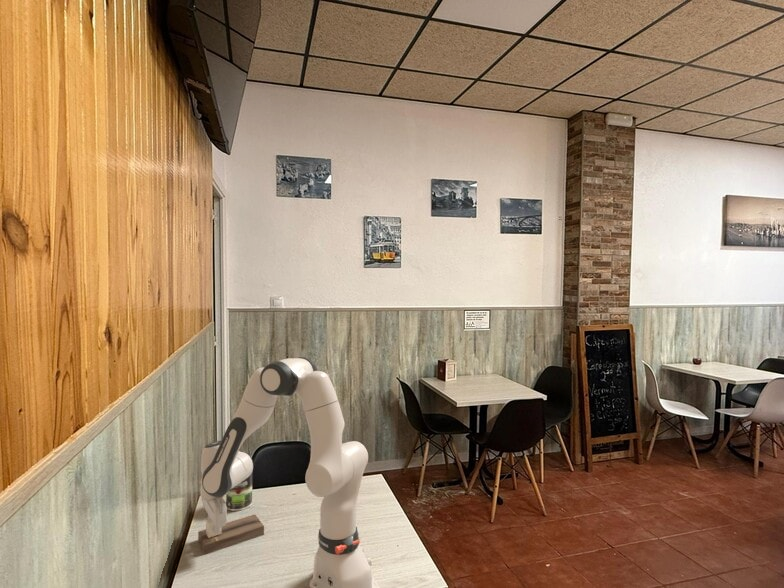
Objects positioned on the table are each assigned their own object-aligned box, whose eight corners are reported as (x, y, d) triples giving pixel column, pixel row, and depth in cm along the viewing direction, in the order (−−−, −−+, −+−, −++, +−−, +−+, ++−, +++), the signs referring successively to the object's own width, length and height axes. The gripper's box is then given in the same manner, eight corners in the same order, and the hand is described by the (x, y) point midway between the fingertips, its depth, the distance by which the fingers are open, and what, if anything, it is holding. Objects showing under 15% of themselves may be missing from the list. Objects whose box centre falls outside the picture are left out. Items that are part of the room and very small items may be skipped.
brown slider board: (263, 534, 149) (264, 525, 149) (204, 554, 137) (204, 544, 137) (255, 522, 157) (255, 513, 157) (198, 540, 145) (198, 531, 146)
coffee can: (251, 509, 167) (252, 474, 167) (224, 512, 164) (224, 477, 164) (253, 497, 177) (253, 464, 177) (227, 500, 174) (227, 466, 174)
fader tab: (221, 533, 144) (221, 518, 144) (208, 538, 141) (208, 522, 141) (219, 529, 147) (219, 513, 147) (205, 533, 144) (206, 517, 144)
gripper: (232, 497, 137) (231, 539, 137) (216, 476, 154) (216, 513, 154) (211, 503, 134) (211, 546, 134) (198, 480, 150) (197, 518, 150)
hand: (213, 528), depth 144 cm, fingers open, 5 cm apart
